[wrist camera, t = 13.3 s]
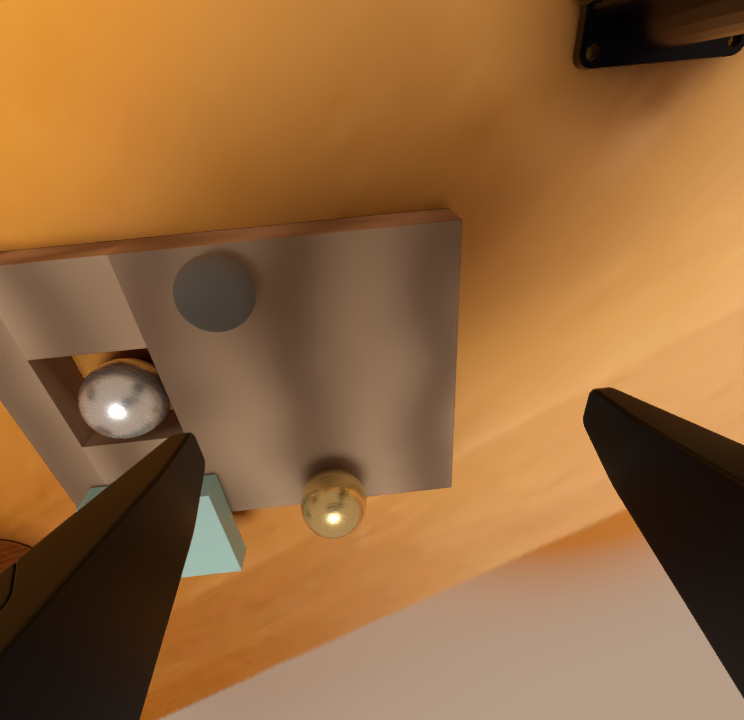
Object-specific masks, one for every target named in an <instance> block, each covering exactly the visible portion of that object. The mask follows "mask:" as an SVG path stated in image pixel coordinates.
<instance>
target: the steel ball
mask: <svg viewBox="0 0 744 720" xmlns="http://www.w3.org/2000/svg"><path fill="white" fill-rule="evenodd" d="M78 406H79V410H80V413H81V415H82V417H83V419H84V420H85V422H86V423H87V424H88V425H89V426H90V427H91V428H92V429H93V430H95V431H97V432H98V433H100V434H102V435H105V436H108V437H112V438H133V437H137V436H141V435H143V434H146V433H148V432H149V431H151V430H153V429H154V428H156V427H157V426H158V425H159V424H160V423H161V422H162V421H163V420H164V418H165V417H166V415H167V414H168V411H169V409H170V406H171V402H170V399H169V397H168V395H167V392H166V390H165V388H164V386H163V383H162V381H161V379H160V376H159V374H158V372H157V369H156V367H155V366H154V365H153V364H151V363H149V362H146V361H143V360H140V359H135V358H120V359H114V360H111V361H108V362H105V363H103V364H101V365H100V366H98V367H96V368H95V369H94V370H93V371H92V372H90V373H89V374H88V376H87V377H86V378H85V379H84V381H83V383H82V385H81V387H80V390H79V394H78Z"/></svg>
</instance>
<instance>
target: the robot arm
mask: <svg viewBox="0 0 744 720" xmlns="http://www.w3.org/2000/svg"><path fill="white" fill-rule="evenodd" d="M580 2H581V4H582V8H581V15H580V21H579V28H578V34H577V41H576V48H575V54H574V61H575V64H576V66H577V67H578V68H580V69H584V70H586V69H597V68H608V67H619V66H630V65H641V64H651V63H662V62H673V61H684V60H695V59H706V58H717V57H726V56H731V55H734V54H736V53H737V52H739V51H740V50H741V49H742V48H743V46H744V0H580ZM730 36H733V41H732V43H731V45H730V46H728V40H729V38H730ZM589 46H592V47H593V49H594V54H593V56H592V58H591V59H590V60H588V59H587V58H586V52H587V49H588V48H589ZM583 423H584V427H585V429H586V431H587V433H588V435H589V438H590V440H591V442H592V444H593V446H594V448H595V450H596V452H597V454H598V456H599V458H600V461H601V463H602V465H603V467H604V469H605V471H606V473H607V475H608V477H609V479H610V481H611V483H612V485H613V487H614V488H615V490H616V492H617V493H618V495H619V497H620V498H621V500H622V502H623V503H624V505H625V507H626V508H627V510H628V511H629V513H630V515H631V516H632V518H633V519H634V521H635V523H636V524H637V526H638V528H639V529H640V531H641V532H642V534H643V536H644V537H645V539H646V541H647V542H648V544H649V545H650V547H651V549H652V550H653V552H654V554H655V555H656V557H657V558H658V560H659V562H660V563H661V565H662V566H663V568H664V570H665V571H666V573H667V575H668V576H669V578H670V579H671V581H672V583H673V584H674V586H675V588H676V589H677V591H678V593H679V594H680V596H681V597H682V599H683V601H684V602H685V604H686V605H687V607H688V609H689V610H690V612H691V614H692V615H693V617H694V619H695V620H696V622H697V623H698V625H699V627H700V628H701V630H702V631H703V633H704V635H705V636H706V638H707V639H708V641H709V643H710V644H711V646H712V648H713V649H714V651H715V653H716V654H717V656H718V657H719V659H720V661H721V662H722V664H723V666H724V667H725V669H726V670H727V672H728V674H729V675H730V677H731V679H732V680H733V682H734V683H735V685H736V687H737V688H738V690H739V691H740V693H741V695H742V696H743V698H744V445H742V444H740V443H738V442H735V441H733V440H731V439H729V438H726V437H724V436H722V435H719V434H717V433H715V432H713V431H710V430H708V429H706V428H703V427H701V426H699V425H697V424H694V423H692V422H690V421H687V420H685V419H683V418H681V417H678V416H676V415H674V414H671V413H669V412H667V411H664V410H662V409H660V408H658V407H655V406H653V405H651V404H648V403H646V402H644V401H642V400H639V399H637V398H635V397H632V396H630V395H628V394H626V393H623V392H621V391H619V390H616V389H614V388H611V387H606V388H597V389H593V390H592V391H591V392H590V393H589V396H588V400H587V404H586V408H585V412H584V416H583ZM204 472H205V459H204V456H203V454H202V451H201V449H200V446H199V444H198V442H197V439H196V437H195V435H194V434H193V433H190V432H186V433H177V434H173V435H171V436H170V437H168V438H167V439H166V440H165V441H163V442H162V443H161V444H160V445H159V446H157V447H156V448H155V449H154V450H152V451H151V452H150V453H149V454H147V455H146V456H145V457H144V458H142V459H141V460H140V461H139V462H137V463H136V464H135V465H134V466H133V467H131V468H130V469H129V470H128V471H126V472H125V473H124V474H123V475H121V476H120V477H119V478H118V479H116V480H115V481H114V482H113V483H111V484H110V485H109V486H108V487H107V488H105V489H104V490H103V491H102V492H100V493H99V494H98V495H97V496H95V497H94V498H93V499H92V500H90V501H89V502H88V503H87V504H85V505H84V506H83V507H82V508H80V509H79V510H78V511H77V512H76V513H74V514H73V515H72V516H71V517H69V518H68V519H67V520H66V521H64V522H63V523H62V524H61V525H59V526H58V527H57V528H56V529H54V530H53V531H52V532H51V533H49V534H48V535H47V536H46V537H44V538H43V539H42V540H41V541H40V542H38V543H37V544H36V545H35V546H33V547H32V548H31V549H30V550H28V551H27V552H26V553H25V554H23V555H22V556H21V557H20V558H18V559H17V562H16V563H12V564H11V565H10V566H8V567H7V568H6V569H5V570H3V571H2V572H1V573H0V720H140V716H141V713H142V710H143V706H144V703H145V699H146V696H147V692H148V689H149V686H150V682H151V679H152V675H153V672H154V668H155V665H156V662H157V658H158V655H159V651H160V648H161V644H162V641H163V637H164V634H165V631H166V627H167V624H168V620H169V617H170V613H171V610H172V607H173V603H174V600H175V596H176V593H177V589H178V586H179V583H180V579H181V576H182V572H183V569H184V565H185V562H186V559H187V555H188V552H189V548H190V545H191V541H192V537H193V534H194V529H195V524H196V519H197V513H198V507H199V501H200V496H201V490H202V484H203V478H204Z"/></svg>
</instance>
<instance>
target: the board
mask: <svg viewBox="0 0 744 720" xmlns="http://www.w3.org/2000/svg"><path fill="white" fill-rule="evenodd" d="M461 230H462V220H461V219H460V218H459V217H458V216H457V215H455V214H454V213H453V212H452V211H451V210H450V209H449V208H444V209H434V210H424V211H413V212H403V213H393V214H383V215H372V216H362V217H352V218H342V219H331V220H321V221H311V222H301V223H290V224H280V225H270V226H260V227H249V228H239V229H229V230H219V231H208V232H198V233H188V234H178V235H167V236H157V237H147V238H137V239H126V240H116V241H106V242H96V243H86V244H75V245H65V246H55V247H45V248H34V249H24V250H14V251H4V252H0V400H1V402H2V403H3V405H4V406H5V407H6V409H7V410H8V412H9V413H10V414H11V416H12V417H13V419H14V420H15V421H16V423H17V424H18V426H19V427H20V428H21V430H22V431H23V432H24V434H25V435H26V437H27V438H28V439H29V441H30V442H31V444H32V445H33V446H34V448H35V449H36V451H37V452H38V453H39V455H40V456H41V458H42V459H43V460H44V462H45V463H46V465H47V466H48V467H49V469H50V470H51V472H52V473H53V474H54V476H55V477H56V479H57V480H58V481H59V483H60V484H61V485H62V487H63V488H64V490H65V491H66V492H67V494H68V495H69V497H70V498H71V499H72V501H73V502H74V504H75V505H76V506H77V508H78V506H79V505H80V503H81V502H82V500H83V499H84V497H85V495H86V494H87V492H88V491H89V489H90V488H95V487H104V486H109V485H110V484H111V483H113V482H114V481H115V480H116V479H118V478H119V477H120V476H121V475H123V474H124V473H125V472H126V471H128V470H129V469H130V468H131V467H133V466H134V465H135V464H136V463H137V462H139V461H140V460H141V459H142V458H144V457H145V456H146V455H147V454H149V453H150V452H151V451H152V450H154V449H155V448H156V447H157V446H159V445H160V444H161V443H162V442H163V441H165V440H166V439H167V438H168V437H170V436H171V435H173V434H177V433H186V432H190V433H193V434H194V435H195V437H196V439H197V442H198V444H199V446H200V449H201V451H202V454H203V456H204V459H205V472H204V475H213V474H216V476H217V478H218V481H219V483H220V485H221V488H222V490H223V493H224V495H225V498H226V500H227V503H228V505H229V508H230V510H231V512H235V511H244V510H253V509H261V508H270V507H279V506H288V505H297V504H301V497H302V493H303V490H304V488H305V486H306V485H307V483H308V482H309V481H310V480H311V478H313V477H314V476H315V475H316V474H318V473H320V472H322V471H324V470H328V469H341V470H345V471H347V472H349V473H351V474H353V475H354V476H355V477H356V478H357V479H358V480H359V481H360V482H361V484H362V486H363V488H364V490H365V493H366V497H369V496H378V495H387V494H395V493H404V492H413V491H422V490H431V489H440V488H449V487H451V484H452V459H453V433H454V408H455V383H456V357H457V332H458V307H459V281H460V256H461ZM204 254H220V255H224V256H227V257H230V258H232V259H234V260H236V261H237V262H239V263H240V264H241V265H242V266H243V267H244V268H245V269H246V270H247V271H248V273H249V274H250V276H251V278H252V280H253V282H254V285H255V290H256V301H255V305H254V309H253V311H252V313H251V314H250V316H249V317H248V319H247V320H246V321H245V322H244V323H242V324H241V325H240V326H238V327H236V328H234V329H232V330H229V331H225V332H209V331H205V330H201V329H199V328H197V327H195V326H193V325H192V324H190V323H189V322H188V321H187V320H185V319H184V317H183V316H182V315H181V314H180V312H179V311H178V309H177V307H176V304H175V302H174V298H173V284H174V280H175V277H176V275H177V273H178V271H179V270H180V269H181V267H182V266H183V265H184V264H185V263H186V262H188V261H189V260H191V259H192V258H195V257H197V256H200V255H204ZM141 348H147V349H148V351H149V353H150V356H151V358H152V360H153V363H154V365H155V367H156V369H157V372H158V374H159V376H160V379H161V381H162V383H163V386H164V388H165V390H166V392H167V395H168V397H169V399H170V402H171V404H172V406H173V409H174V410H173V411H168V414H167V415H166V417H165V418H164V420H163V421H162V422H161V423H160V424H159V425H158V426H157V427H156V428H154V429H153V430H151V431H149V432H148V433H146V434H143V435H141V436H137V437H133V438H112V437H108V436H105V435H102V434H100V433H98V432H97V431H95V430H93V429H92V428H91V427H90V426H89V425H88V424H87V423H86V422H85V420H84V419H83V417H82V415H81V413H80V410H79V406H78V394H79V390H80V387H81V385H82V383H83V381H84V380H83V378H82V376H81V375H80V373H79V371H78V369H77V367H76V366H75V364H74V362H73V360H72V359H71V357H70V356H74V355H83V354H93V353H103V352H112V351H122V350H132V349H141Z"/></svg>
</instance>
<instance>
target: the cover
mask: <svg viewBox="0 0 744 720" xmlns="http://www.w3.org/2000/svg"><path fill="white" fill-rule="evenodd" d="M107 487H108V486H104V487H95V488H90V489H89V491H88V492H87V494H86V495H85V497H84V499H83V500H82V502H81V503H80V505H79V506H78V508H77V509H76V512H77V511H78V510H79V509H80V508H82V507H83V506H84V505H85V504H87V503H88V502H89V501H90V500H92V499H93V498H94V497H95V496H97V495H98V494H99V493H100V492H102V491H103V490H104V489H105V488H107ZM245 552H246V547H245V544H244V542H243V539H242V537H241V534H240V532H239V530H238V527H237V525H236V522H235V520H234V517H233V515H232V512H231V510H230V508H229V505H228V503H227V500H226V498H225V495H224V493H223V490H222V488H221V485H220V483H219V481H218V478H217V476H216V474H213V475H204V478H203V484H202V490H201V496H200V501H199V507H198V513H197V519H196V524H195V529H194V534H193V537H192V541H191V545H190V548H189V552H188V555H187V559H186V562H185V565H184V569H183V572H182V576H181V578H182V577H191V576H199V575H208V574H217V573H225V572H234V571H242V566H243V561H244V557H245Z"/></svg>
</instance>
